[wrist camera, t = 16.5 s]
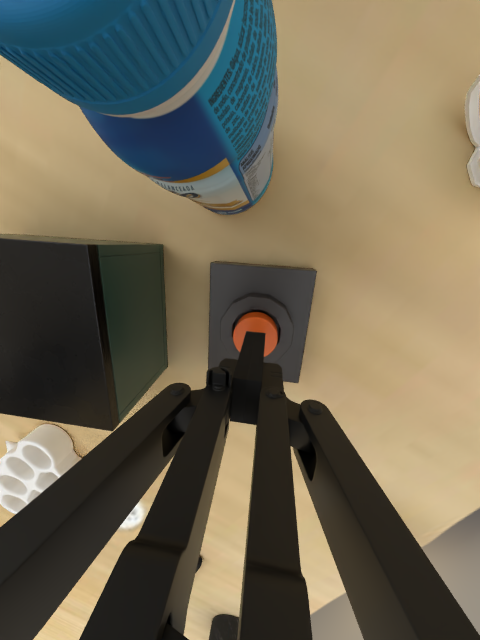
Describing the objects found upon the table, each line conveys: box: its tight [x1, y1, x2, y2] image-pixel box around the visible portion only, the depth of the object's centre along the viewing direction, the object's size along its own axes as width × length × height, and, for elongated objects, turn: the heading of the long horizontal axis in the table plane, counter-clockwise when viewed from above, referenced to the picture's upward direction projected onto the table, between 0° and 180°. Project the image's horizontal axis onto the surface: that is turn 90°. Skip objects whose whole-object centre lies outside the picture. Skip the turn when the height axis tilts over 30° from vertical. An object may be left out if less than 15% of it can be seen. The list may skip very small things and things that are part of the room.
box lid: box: [0, 237, 119, 431], centre depth 18 cm, size 18×15×1 cm
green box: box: [0, 234, 168, 423], centre depth 23 cm, size 17×15×10 cm
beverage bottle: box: [0, 0, 278, 215], centre depth 12 cm, size 8×8×20 cm
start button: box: [233, 312, 278, 357], centre depth 22 cm, size 4×4×2 cm
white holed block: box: [0, 424, 82, 514], centre depth 36 cm, size 3×18×15 cm
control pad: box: [208, 261, 317, 383], centre depth 24 cm, size 12×10×4 cm
